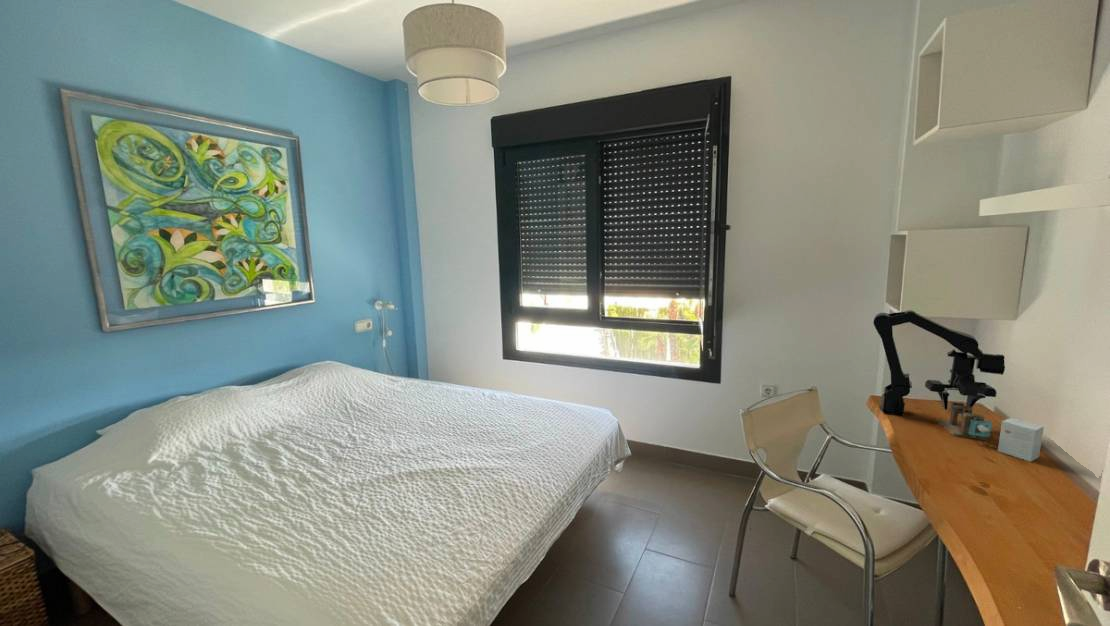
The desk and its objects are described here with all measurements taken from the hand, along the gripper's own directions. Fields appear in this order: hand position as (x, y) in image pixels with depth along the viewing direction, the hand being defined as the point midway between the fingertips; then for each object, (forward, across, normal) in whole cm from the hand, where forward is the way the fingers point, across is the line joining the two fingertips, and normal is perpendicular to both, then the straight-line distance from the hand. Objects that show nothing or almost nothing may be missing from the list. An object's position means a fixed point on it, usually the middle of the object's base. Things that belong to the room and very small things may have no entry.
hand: (956, 410), depth 164 cm
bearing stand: (+5, 0, -6) cm, 8 cm away
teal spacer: (+2, 0, -17) cm, 17 cm away
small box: (+5, +8, -22) cm, 24 cm away
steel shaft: (+1, 0, -10) cm, 10 cm away
